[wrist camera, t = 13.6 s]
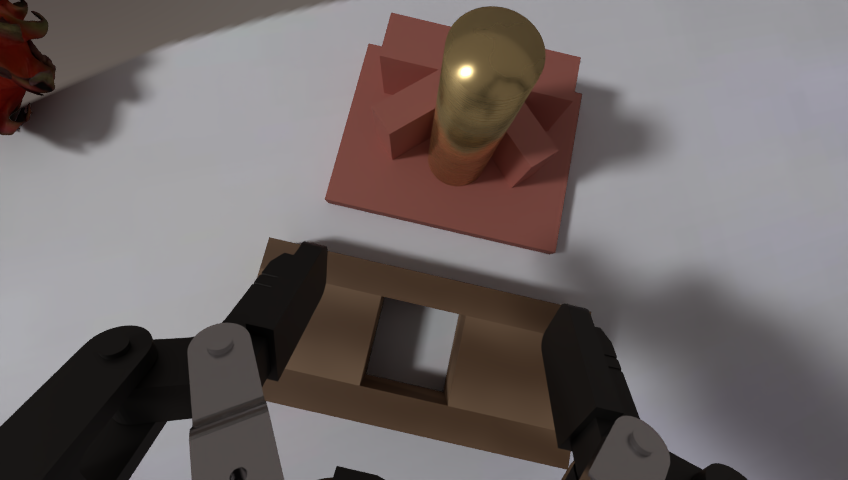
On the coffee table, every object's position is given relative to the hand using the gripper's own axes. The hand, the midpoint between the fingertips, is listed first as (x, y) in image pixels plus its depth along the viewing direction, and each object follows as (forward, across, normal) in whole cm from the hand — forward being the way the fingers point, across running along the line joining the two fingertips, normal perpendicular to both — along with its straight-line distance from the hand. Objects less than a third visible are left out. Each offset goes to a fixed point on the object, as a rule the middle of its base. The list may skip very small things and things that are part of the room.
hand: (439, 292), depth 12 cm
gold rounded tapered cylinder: (+15, 0, +1) cm, 15 cm away
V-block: (+16, 0, +2) cm, 16 cm away
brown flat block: (+6, 0, +11) cm, 13 cm away
